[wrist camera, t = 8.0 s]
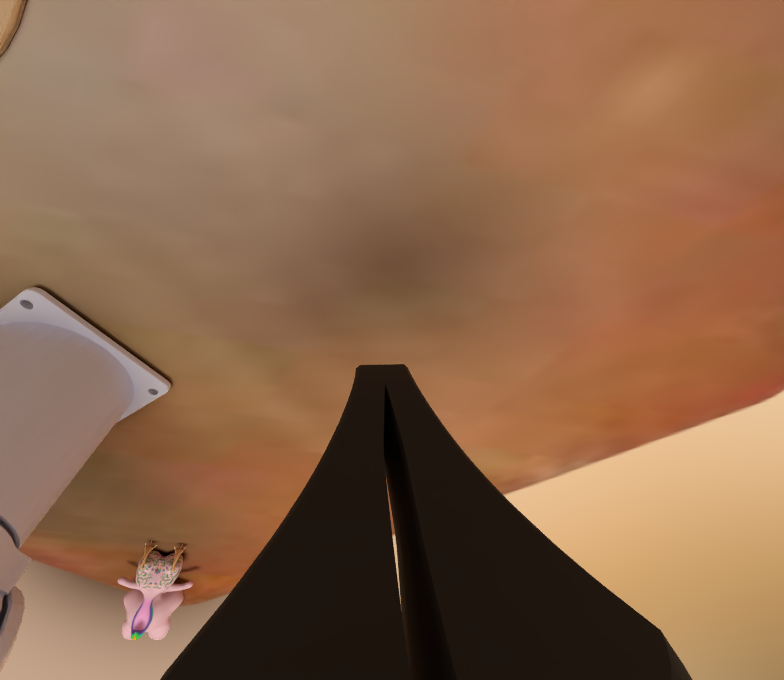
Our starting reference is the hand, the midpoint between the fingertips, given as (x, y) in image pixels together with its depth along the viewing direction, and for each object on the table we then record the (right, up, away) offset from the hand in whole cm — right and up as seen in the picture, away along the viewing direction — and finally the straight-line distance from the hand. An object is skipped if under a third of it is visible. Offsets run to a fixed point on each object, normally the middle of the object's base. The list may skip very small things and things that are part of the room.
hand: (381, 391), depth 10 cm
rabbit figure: (-23, -22, +25) cm, 41 cm away
